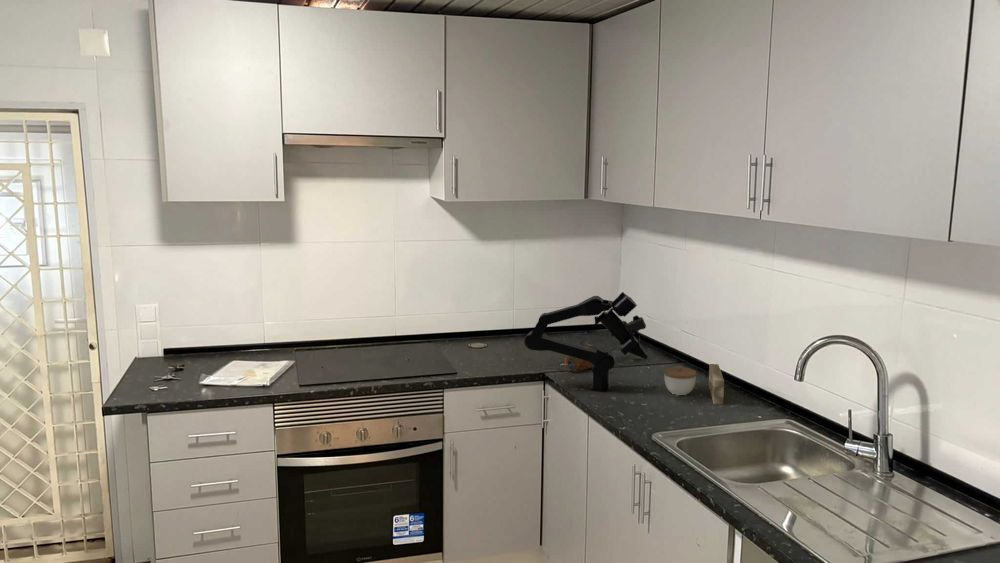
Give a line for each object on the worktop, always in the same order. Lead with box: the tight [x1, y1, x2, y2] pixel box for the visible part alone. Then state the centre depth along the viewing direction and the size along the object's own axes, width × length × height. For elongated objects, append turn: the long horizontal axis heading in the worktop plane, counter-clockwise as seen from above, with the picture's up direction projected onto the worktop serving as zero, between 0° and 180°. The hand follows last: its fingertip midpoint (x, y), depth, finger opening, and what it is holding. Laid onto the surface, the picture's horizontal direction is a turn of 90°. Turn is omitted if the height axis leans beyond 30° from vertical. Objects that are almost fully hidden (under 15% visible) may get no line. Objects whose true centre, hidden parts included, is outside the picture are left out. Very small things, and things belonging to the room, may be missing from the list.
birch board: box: [708, 363, 725, 405], centre depth 253 cm, size 3×20×8 cm, turn 169°
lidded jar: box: [663, 365, 697, 396], centre depth 255 cm, size 11×11×9 cm
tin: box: [563, 346, 594, 373], centre depth 284 cm, size 15×3×8 cm, turn 129°
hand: (646, 358), depth 256 cm, fingers closed
